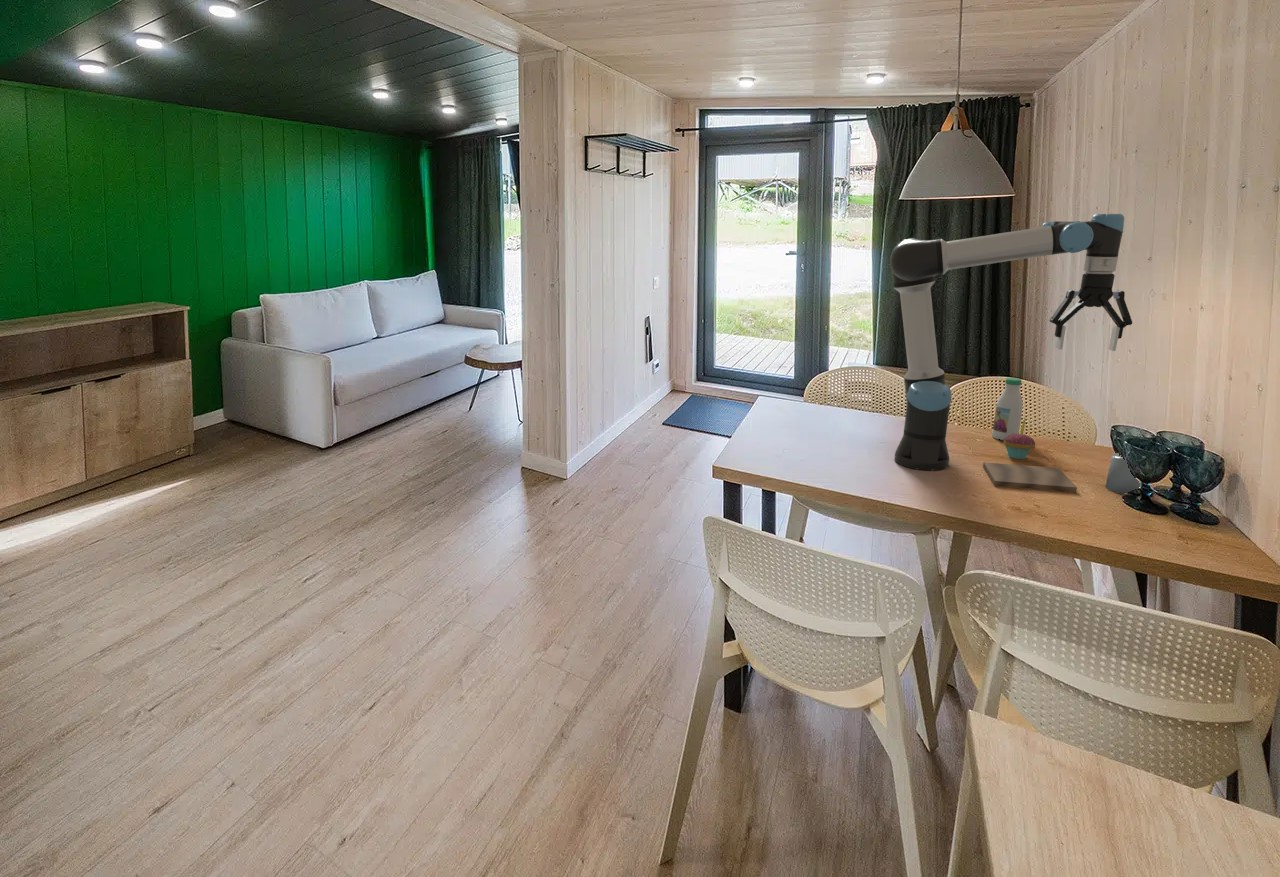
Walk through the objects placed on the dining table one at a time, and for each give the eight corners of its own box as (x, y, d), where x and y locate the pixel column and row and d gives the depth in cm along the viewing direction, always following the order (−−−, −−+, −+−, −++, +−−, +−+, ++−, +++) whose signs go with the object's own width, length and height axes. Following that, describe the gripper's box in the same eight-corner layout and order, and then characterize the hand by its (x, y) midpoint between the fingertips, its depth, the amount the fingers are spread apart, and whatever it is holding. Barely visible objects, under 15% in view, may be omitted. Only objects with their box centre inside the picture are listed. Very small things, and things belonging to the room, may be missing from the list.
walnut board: (994, 486, 196) (995, 480, 195) (982, 467, 210) (983, 462, 210) (1076, 492, 191) (1077, 487, 190) (1058, 472, 206) (1059, 468, 205)
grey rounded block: (1111, 493, 190) (1118, 461, 188) (1101, 483, 198) (1107, 452, 195) (1145, 496, 189) (1153, 463, 186) (1133, 485, 196) (1140, 454, 193)
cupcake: (1005, 450, 225) (1011, 413, 222) (1035, 456, 220) (1042, 418, 217) (998, 457, 219) (1004, 419, 215) (1029, 463, 214) (1035, 424, 210)
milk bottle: (1012, 435, 242) (1021, 376, 236) (1021, 441, 234) (1031, 381, 228) (988, 434, 242) (996, 376, 236) (996, 441, 235) (1005, 381, 229)
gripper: (1053, 273, 196) (1041, 350, 203) (1156, 274, 191) (1140, 353, 198) (1045, 271, 203) (1033, 345, 210) (1143, 272, 199) (1128, 348, 205)
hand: (1085, 349), depth 204 cm, fingers open, 13 cm apart
